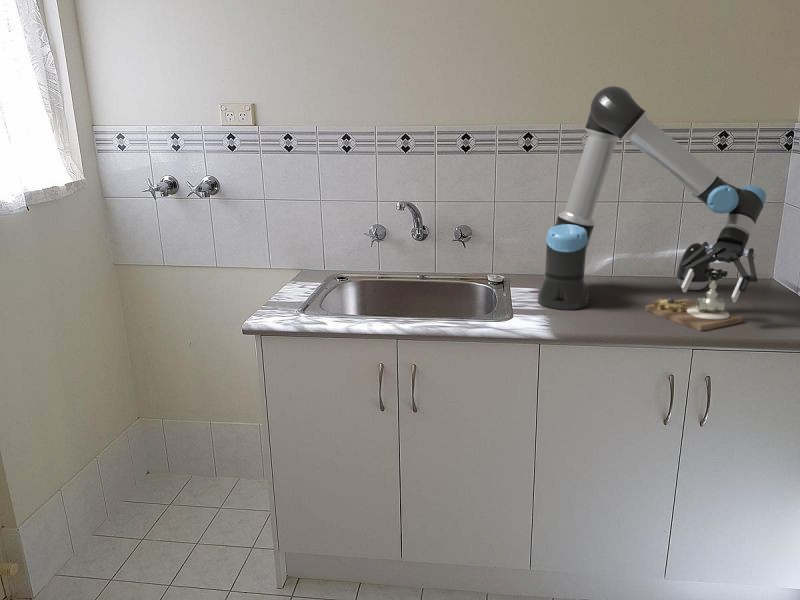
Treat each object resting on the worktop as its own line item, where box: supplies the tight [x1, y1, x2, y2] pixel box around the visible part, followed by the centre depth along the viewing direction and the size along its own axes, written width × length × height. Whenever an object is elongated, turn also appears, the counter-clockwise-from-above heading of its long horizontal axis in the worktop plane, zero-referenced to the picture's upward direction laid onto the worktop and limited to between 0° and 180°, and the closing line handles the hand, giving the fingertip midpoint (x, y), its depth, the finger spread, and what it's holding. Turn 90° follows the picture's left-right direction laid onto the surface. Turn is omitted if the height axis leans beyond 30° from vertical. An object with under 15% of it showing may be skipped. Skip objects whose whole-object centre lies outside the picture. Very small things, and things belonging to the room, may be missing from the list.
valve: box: [696, 267, 729, 312], centre depth 180 cm, size 7×7×12 cm
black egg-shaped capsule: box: [675, 242, 711, 291], centre depth 209 cm, size 10×10×15 cm
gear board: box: [644, 297, 744, 332], centre depth 184 cm, size 20×16×4 cm
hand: (707, 294), depth 178 cm, fingers open, 13 cm apart
